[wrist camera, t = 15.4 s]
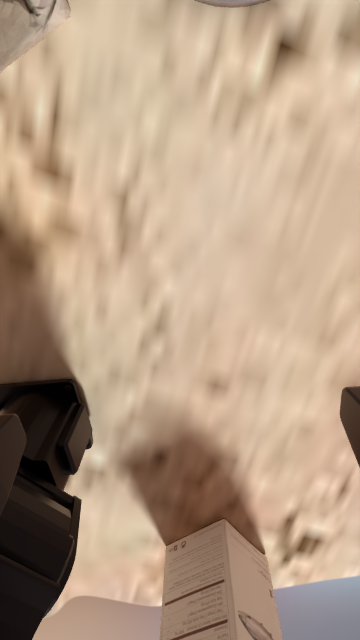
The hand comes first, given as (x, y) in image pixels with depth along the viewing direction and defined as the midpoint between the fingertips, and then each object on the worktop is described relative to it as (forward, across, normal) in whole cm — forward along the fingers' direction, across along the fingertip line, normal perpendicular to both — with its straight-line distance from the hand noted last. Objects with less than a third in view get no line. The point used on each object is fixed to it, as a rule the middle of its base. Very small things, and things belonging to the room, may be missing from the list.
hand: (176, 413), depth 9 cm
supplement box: (+13, 0, +28) cm, 31 cm away
